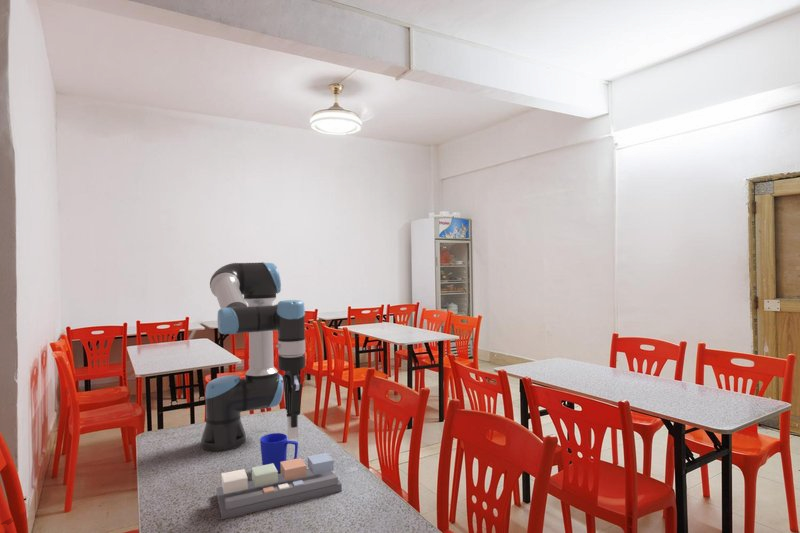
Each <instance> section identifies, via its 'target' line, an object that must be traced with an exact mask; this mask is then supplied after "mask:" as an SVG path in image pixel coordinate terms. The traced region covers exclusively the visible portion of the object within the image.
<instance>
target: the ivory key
mask: <svg viewBox="0 0 800 533" xmlns="http://www.w3.org/2000/svg"><path fill="white" fill-rule="evenodd" d="M220 475H221V487H222V488H223V492H224V494H227V493H231V492H236V491H240V490H245V489H248V481H249V480H248V479H249V478H248V475H247V472H246V470H245V469H244V468H243V469H238V470H234V471H233V470H232V471H227V472H222V473H221V474H220Z"/></svg>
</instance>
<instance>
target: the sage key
mask: <svg viewBox="0 0 800 533" xmlns="http://www.w3.org/2000/svg"><path fill="white" fill-rule="evenodd" d="M278 475H279V472H278V471H277V469H276V467H275V465H274V464H273V463H272V464H267V465H262V464H261V465H257V466H253V467H251V479H252V480H253V482H254V485H255V487H259V486H264V485H268V484H273V483H278ZM252 480H251V481H252Z"/></svg>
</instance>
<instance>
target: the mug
mask: <svg viewBox="0 0 800 533" xmlns="http://www.w3.org/2000/svg"><path fill="white" fill-rule="evenodd" d="M259 442H260V453H261V466H262V465H267V464H272V463H273V464H274V465H275V467H276V469H277V471H278V473H279V472H281V470H280V462H282V461H287V453H288V452H287V449H288V445H290V444H291V445H294V456H293V459H297V458H298V451H299V442H298V441H295V440H289V439H288V435H287V434H285V433H281V432H273V433H269V434H265V435H263V436H261V437H260V440H259Z"/></svg>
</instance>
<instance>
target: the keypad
mask: <svg viewBox="0 0 800 533" xmlns="http://www.w3.org/2000/svg"><path fill="white" fill-rule="evenodd" d="M306 474H307V476H305V477H301V478H296V479H291V480H287V481H285V479H284V478H283V476H282V474H281V473H280V474H278V483H273V484H268V485H264V486H259V487H255V485H254V482H253V480H248V489H245V490H240V491H236V492H231V493H227V494H224V492H223V488H222V486H219V487H216V488H215V489H216V499H217V503H218V507H219V512H220V517H221V520H224V519H230V518H233V517H238V516H243V515H247V514H250V513H254V512H258V511H264V510H267V509H271V508H276V507H279V506H283V505H288V504H293V503H297V502H301V501H306V500H309V499H314V498H318V497H322V496H327V495H330V494H334V493H339V492H342V490H343V488H342V485H343V484H342V483H341V481H340V480H339V477H338V476H337V474H335V473H334V472H333V471H329V472H324V473H319V474H315V475H313V473H312V472H311V471H310V469H309V468H306Z"/></svg>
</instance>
